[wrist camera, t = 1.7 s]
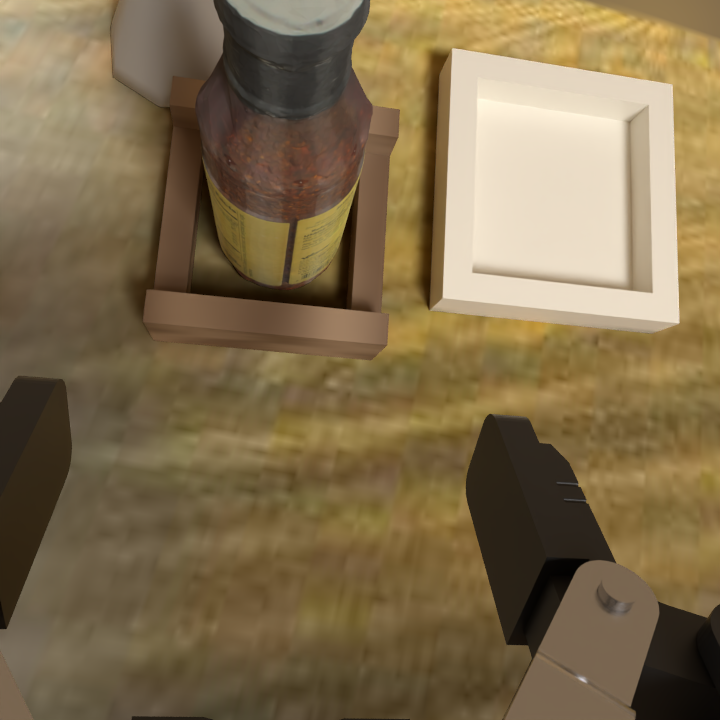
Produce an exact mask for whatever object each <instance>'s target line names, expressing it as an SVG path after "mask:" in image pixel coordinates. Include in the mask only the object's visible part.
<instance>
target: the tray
mask: <svg viewBox="0 0 720 720" xmlns="http://www.w3.org/2000/svg"><path fill="white" fill-rule="evenodd" d="M429 310H430V311H440V312H450V313H459V314H469V315H479V316H488V317H498V318H507V319H517V320H527V321H536V322H546V323H556V324H565V325H575V326H584V327H594V328H604V329H613V330H623V331H633V332H642V333H655V332H657V331H660V330H663V329H666V328H668V327H671V326H674V325H677V324H679V293H678V259H677V224H676V190H675V155H674V121H673V86H672V84H666V83H660V82H654V81H648V80H642V79H636V78H630V77H624V76H618V75H612V74H606V73H600V72H594V71H588V70H582V69H576V68H570V67H564V66H558V65H552V64H546V63H539V62H533V61H527V60H521V59H515V58H509V57H503V56H497V55H491V54H485V53H479V52H473V51H467V50H461V49H455V48H452V50H451V52H450V54H449V56H448V58H447V60H446V62H445V64H444V66H443V68H442V70H441V72H440V74H439V93H438V117H437V141H436V164H435V188H434V212H433V236H432V260H431V284H430V308H429Z"/></svg>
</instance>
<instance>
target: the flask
mask: <svg viewBox="0 0 720 720" xmlns="http://www.w3.org/2000/svg"><path fill="white" fill-rule="evenodd" d="M223 40H224V30H223V24H222V23H221V22H220V20H219V17H218V14H217V11H216V9H215V7H214V1H213V0H119V2H118V5H117V8H116V11H115V14H114V17H113V20H112V24H111V48H112V68H113V78H115V79H117V80H118V81H120V82H121V83H123V84H124V85H126V86H128V87H129V88H131V89H132V90H134V91H135V92H137V93H139V94H140V95H142V96H143V97H145V98H146V99H148V100H150V101H151V102H153V103H154V104H156V105H157V106H159V107H170V105H169V104H170V95H171V87H172V79H173V76H178V77H185V78H191V79H198V80H205V81H207V80H208V78H209V77H210V75H211V74H212V72H213V70H214V68H215V67H216V65H217V63H218V61H219V59H220V57H221V55H222V53H223Z"/></svg>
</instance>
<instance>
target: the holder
mask: <svg viewBox="0 0 720 720" xmlns="http://www.w3.org/2000/svg"><path fill="white" fill-rule="evenodd" d="M205 82H206V81H205V80H198V79H191V78H185V77H178V76H173V79H172V87H171V95H170V104H169V105H170V111H171V116H172V121H173V134H172V142H171V151H170V159H169V167H168V176H167V184H166V192H165V200H164V209H163V217H162V225H161V233H160V242H159V250H158V258H157V266H156V275H155V283H154V290H150V289H147V291H146V299H145V307H144V315H143V323H144V325H145V327H146V328H147V330H148V332H149V333H150V335H151V337H152V338H153V340H155V341H166V342H176V343H187V344H198V345H209V346H220V347H231V348H242V349H253V350H264V351H275V352H286V353H297V354H308V355H319V356H330V357H341V358H352V359H363V360H372V359H373V358H374V357H375V356H376V355H377V354H378V353H379V352H381V351H382V350H383V349H384V348H385V347H386V346H387V339H388V321H389V314H385V313H381V305H382V287H383V269H384V251H385V233H386V215H387V197H388V179H389V161H390V155H391V152H392V150H393V148H394V146H395V144H396V141H397V139H398V133H399V114H400V110H398V109H392V108H385V107H378V106H373V115H372V117H371V122H370V129H369V135H368V140H367V143H366V146H365V157H364V163H363V167H362V171H361V174H360V177H359V181H358V184H357V187H356V190H355V193H354V197H353V211H352V227H351V242H350V257H349V272H348V288H347V303H346V309H336V308H326V307H316V306H307V305H297V304H287V303H277V302H267V301H258V300H248V299H238V298H228V297H219V296H209V295H199V294H190V292H191V283H192V274H193V264H194V255H195V246H196V237H197V228H198V219H199V210H200V201H201V192H202V183H203V174H204V164H203V159H202V152H201V137H200V130H199V125H198V121H197V116H196V112H195V103H196V98H197V95H198V93H199V90H200V88H201V87H202V85H203V84H204V83H205Z"/></svg>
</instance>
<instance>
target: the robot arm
mask: <svg viewBox="0 0 720 720" xmlns="http://www.w3.org/2000/svg"><path fill="white" fill-rule="evenodd" d="M71 453H72V442H71V432H70V422H69V412H68V402H67V392H66V386H65V382H64V381H63V380H62V379H53V378H40V377H27V376H18V377H17V378H16V379H15V380H14V381H13V383H12V385H11V387H10V388H9V390H8V392H7V394H6V395H5V397H4V399H3V400H2V402H1V403H0V629H7V627H8V624H9V622H10V619H11V617H12V614H13V611H14V609H15V606H16V604H17V601H18V599H19V596H20V594H21V591H22V589H23V586H24V584H25V581H26V579H27V576H28V574H29V571H30V569H31V566H32V564H33V561H34V558H35V556H36V553H37V551H38V548H39V546H40V543H41V541H42V538H43V536H44V533H45V531H46V528H47V526H48V523H49V521H50V518H51V516H52V513H53V510H54V508H55V505H56V503H57V500H58V498H59V495H60V493H61V490H62V488H63V485H64V483H65V480H66V478H67V475H68V471H69V467H70V462H71ZM466 497H467V502H468V506H469V510H470V513H471V517H472V521H473V524H474V528H475V531H476V535H477V539H478V542H479V546H480V550H481V553H482V557H483V561H484V564H485V568H486V571H487V575H488V579H489V582H490V586H491V590H492V593H493V597H494V601H495V604H496V608H497V611H498V615H499V619H500V622H501V626H502V630H503V633H504V637H505V640H506V644H507V645H528V646H529V649H530V652H531V656H532V660H531V662H530V664H529V666H528V668H527V670H526V672H525V674H524V676H523V678H522V680H521V682H520V684H519V687H518V689H517V691H516V693H515V695H514V697H513V699H512V701H511V703H510V705H509V707H508V709H507V711H506V713H505V715H504V717H503V719H502V720H720V605H718V606H717V607H715V608H714V610H713V611H712V612H711V614H710V615H709V617H708V618H706V617H703V616H699V615H696V614H693V613H690V612H687V611H684V610H681V609H678V608H675V607H671V606H668V605H666V604H663V603H660V602H658V601H657V599H656V597H655V595H654V593H653V591H652V590H651V588H650V587H649V586H648V585H647V584H646V582H645V581H644V580H642V579H641V578H640V577H639V576H638V575H637V574H635V573H634V572H632V571H631V570H629V569H627V568H626V567H623V566H621V565H619V564H616V561H615V559H614V557H613V555H612V553H611V551H610V549H609V547H608V545H607V542H606V540H605V538H604V536H603V534H602V532H601V530H600V528H599V525H598V523H597V521H596V519H595V517H594V515H593V513H592V511H591V508H590V506H589V504H586V498H585V496H584V494H583V491H582V489H581V487H578V481H577V479H576V477H575V475H574V472H573V470H572V468H571V466H570V464H569V462H568V461H567V460H566V459H565V458H564V457H563V456H562V455H561V454H560V453H559V452H558V451H557V450H556V449H555V448H554V447H553V446H552V445H551V444H543V443H539V441H538V439H537V436H536V434H535V432H534V430H533V427H532V425H531V423H530V421H529V419H528V418H527V417H521V416H508V415H495V414H489V415H488V416H487V417H486V419H485V420H484V423H483V426H482V429H481V432H480V435H479V438H478V441H477V444H476V447H475V450H474V453H473V457H472V460H471V463H470V466H469V469H468V473H467V479H466ZM0 720H33V718H32V715H31V713H30V711H29V709H28V707H27V705H26V703H25V701H24V699H23V697H22V695H21V693H20V691H19V688H18V686H17V684H16V682H15V680H14V678H13V676H12V674H11V672H10V670H9V668H8V666H7V664H6V661H5V659H4V657H3V655H2V653H1V651H0ZM132 720H212V719H208V718H205V717H135V716H132ZM341 720H410V719H341Z"/></svg>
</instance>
